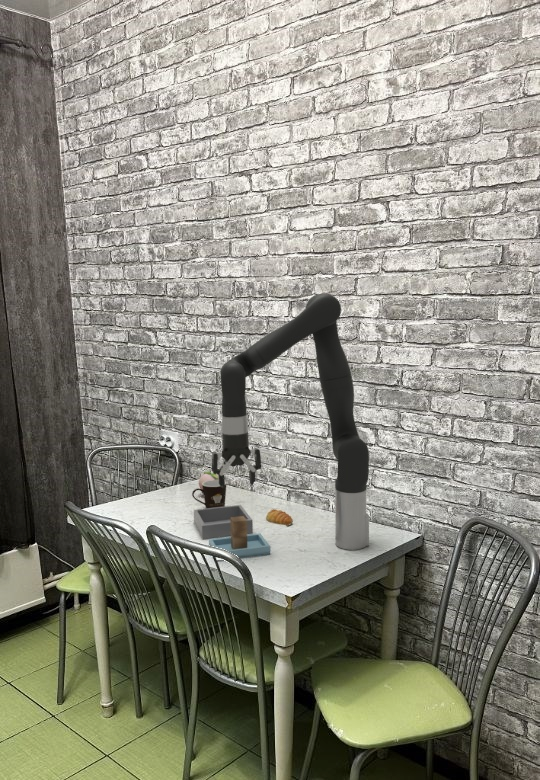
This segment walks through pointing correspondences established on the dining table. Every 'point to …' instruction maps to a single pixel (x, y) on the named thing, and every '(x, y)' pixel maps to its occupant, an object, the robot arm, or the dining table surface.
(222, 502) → the coffee mug
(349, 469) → the robot arm
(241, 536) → the walnut block
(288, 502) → the dining table surface
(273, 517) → the pastry
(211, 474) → the decorative fruit
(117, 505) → the dining table surface
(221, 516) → the low gray crate
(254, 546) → the shallow blue tray
